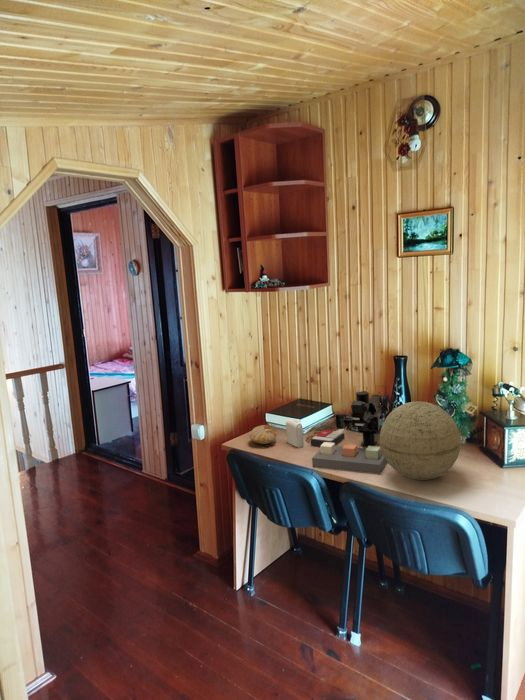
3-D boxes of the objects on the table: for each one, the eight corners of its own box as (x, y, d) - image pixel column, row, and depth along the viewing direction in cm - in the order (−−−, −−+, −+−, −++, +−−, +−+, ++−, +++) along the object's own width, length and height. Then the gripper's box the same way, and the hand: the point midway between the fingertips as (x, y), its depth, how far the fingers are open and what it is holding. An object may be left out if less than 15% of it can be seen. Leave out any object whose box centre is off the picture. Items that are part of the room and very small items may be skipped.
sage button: (369, 456, 220) (368, 445, 219) (381, 458, 218) (380, 446, 217) (366, 461, 215) (365, 450, 214) (378, 462, 213) (377, 451, 212)
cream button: (324, 452, 229) (324, 441, 228) (335, 453, 226) (334, 442, 226) (321, 456, 224) (320, 446, 223) (331, 458, 222) (331, 446, 221)
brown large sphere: (454, 499, 182) (452, 417, 177) (371, 487, 197) (368, 411, 192) (466, 466, 208) (465, 394, 203) (392, 458, 223) (389, 390, 218)
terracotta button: (346, 454, 224) (346, 443, 223) (357, 455, 222) (357, 444, 221) (343, 459, 220) (342, 447, 219) (354, 460, 218) (353, 449, 217)
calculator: (344, 431, 251) (331, 440, 239) (344, 440, 252) (331, 449, 239) (324, 429, 257) (310, 437, 245) (324, 437, 258) (310, 446, 245)
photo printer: (286, 442, 252) (284, 418, 250) (293, 440, 254) (291, 416, 252) (297, 448, 243) (295, 423, 241) (305, 446, 245) (303, 421, 243)
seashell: (267, 433, 270) (291, 438, 261) (241, 444, 253) (265, 450, 244) (267, 418, 269) (291, 423, 260) (241, 428, 252) (265, 434, 243)
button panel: (325, 453, 235) (324, 444, 234) (388, 459, 222) (388, 450, 221) (312, 466, 221) (311, 457, 220) (380, 474, 208) (379, 464, 207)
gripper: (340, 398, 232) (329, 408, 218) (381, 399, 224) (372, 410, 210) (342, 422, 234) (330, 433, 220) (383, 424, 226) (374, 436, 212)
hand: (351, 428), depth 216 cm, fingers open, 9 cm apart
